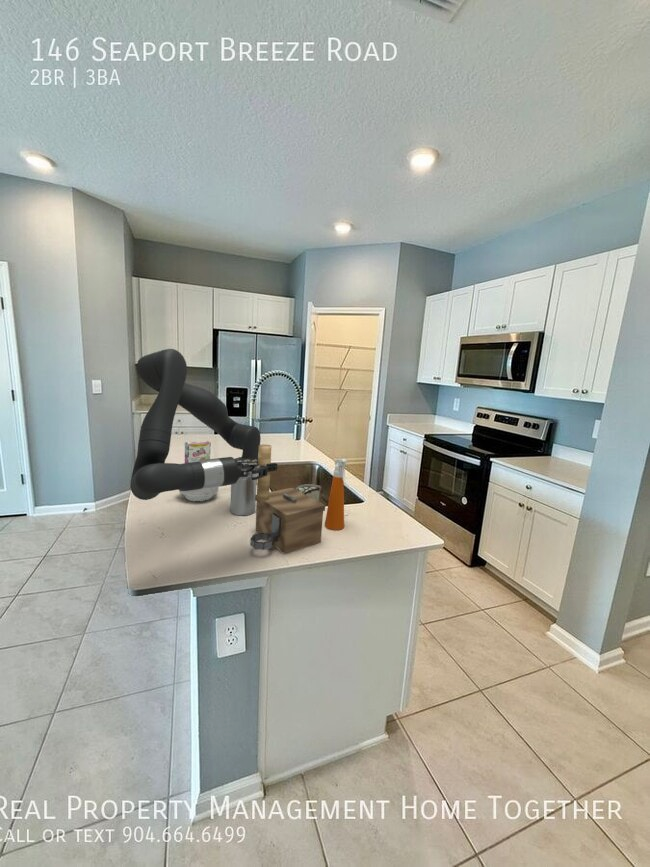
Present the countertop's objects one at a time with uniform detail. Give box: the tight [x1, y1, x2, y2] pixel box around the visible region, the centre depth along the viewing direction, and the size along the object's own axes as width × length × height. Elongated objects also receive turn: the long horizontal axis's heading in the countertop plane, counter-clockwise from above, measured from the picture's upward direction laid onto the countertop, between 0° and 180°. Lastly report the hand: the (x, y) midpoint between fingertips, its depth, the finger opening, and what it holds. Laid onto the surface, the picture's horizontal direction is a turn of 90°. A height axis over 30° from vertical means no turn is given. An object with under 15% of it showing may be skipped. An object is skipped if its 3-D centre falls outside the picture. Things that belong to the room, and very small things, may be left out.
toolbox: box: [255, 487, 326, 555], centre depth 117 cm, size 19×15×14 cm
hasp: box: [249, 514, 281, 551], centre depth 107 cm, size 7×8×8 cm
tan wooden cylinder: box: [256, 443, 272, 501], centre depth 103 cm, size 4×4×16 cm
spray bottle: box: [324, 458, 348, 531], centre depth 124 cm, size 7×11×26 cm, turn 16°
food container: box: [295, 483, 322, 502], centre depth 138 cm, size 12×6×10 cm, turn 141°
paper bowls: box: [178, 487, 220, 502], centre depth 145 cm, size 15×15×8 cm
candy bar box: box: [184, 440, 211, 463], centre depth 172 cm, size 11×5×16 cm, turn 130°
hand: (272, 464), depth 104 cm, fingers closed on tan wooden cylinder, 3 cm apart
